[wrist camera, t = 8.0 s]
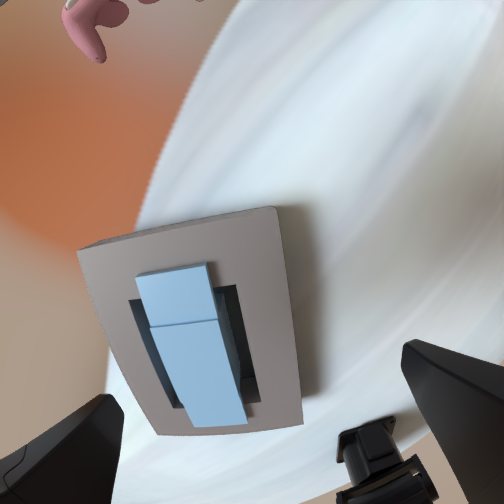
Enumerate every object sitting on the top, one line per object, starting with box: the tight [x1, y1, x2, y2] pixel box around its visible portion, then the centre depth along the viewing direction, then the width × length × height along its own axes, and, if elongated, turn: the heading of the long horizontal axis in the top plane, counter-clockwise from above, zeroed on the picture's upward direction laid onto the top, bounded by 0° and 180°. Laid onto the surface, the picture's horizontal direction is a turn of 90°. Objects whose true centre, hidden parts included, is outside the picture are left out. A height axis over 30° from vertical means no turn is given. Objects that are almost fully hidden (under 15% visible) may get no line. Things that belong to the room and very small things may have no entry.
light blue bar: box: [135, 262, 248, 427], centre depth 17 cm, size 4×12×4 cm, turn 10°
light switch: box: [76, 206, 304, 436], centre depth 17 cm, size 16×12×3 cm
